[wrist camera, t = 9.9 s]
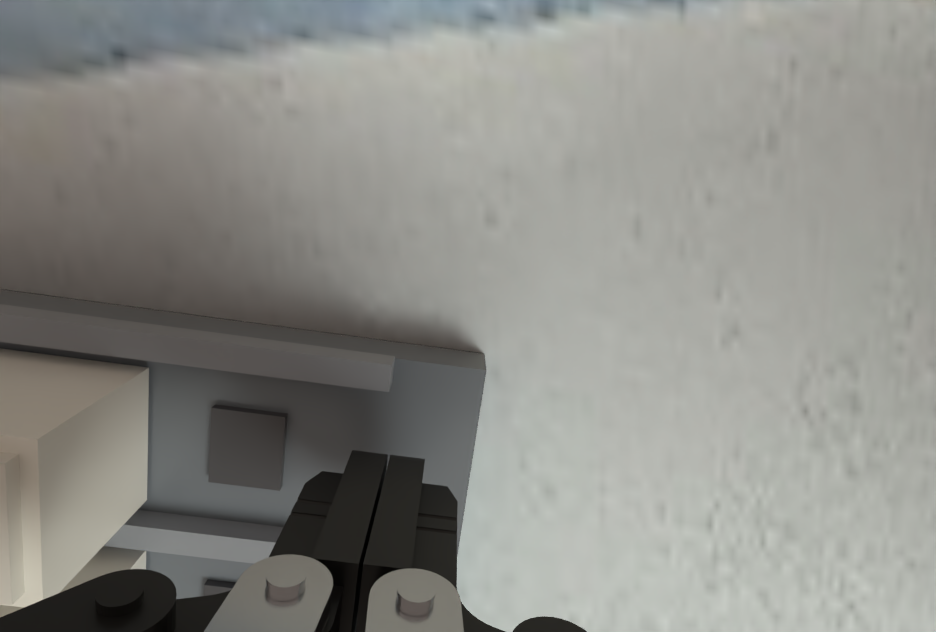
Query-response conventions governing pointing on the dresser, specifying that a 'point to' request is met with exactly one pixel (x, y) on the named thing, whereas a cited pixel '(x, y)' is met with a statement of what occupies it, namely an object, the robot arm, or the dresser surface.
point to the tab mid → (99, 568)
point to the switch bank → (255, 420)
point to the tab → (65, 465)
